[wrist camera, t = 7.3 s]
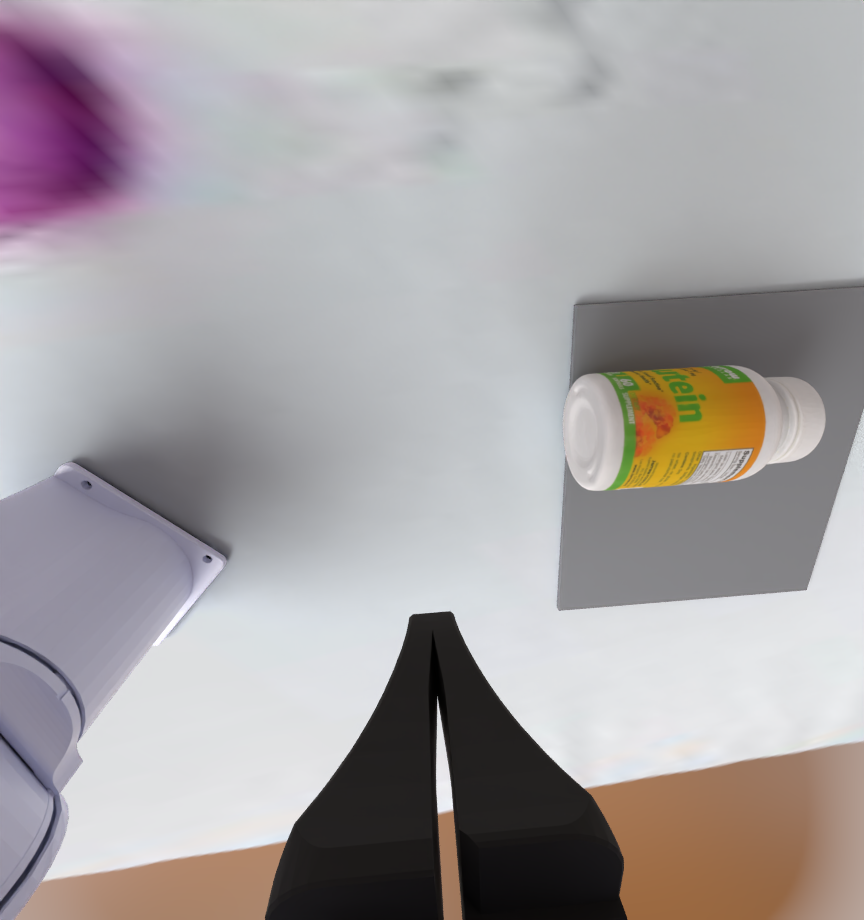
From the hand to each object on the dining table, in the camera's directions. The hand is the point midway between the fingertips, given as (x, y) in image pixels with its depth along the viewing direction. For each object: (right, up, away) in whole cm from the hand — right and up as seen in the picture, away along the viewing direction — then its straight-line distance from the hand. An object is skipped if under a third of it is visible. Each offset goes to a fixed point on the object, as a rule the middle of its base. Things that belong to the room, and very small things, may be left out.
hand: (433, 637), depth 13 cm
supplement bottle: (+7, +7, +6) cm, 11 cm away
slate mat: (+15, +5, +10) cm, 19 cm away
